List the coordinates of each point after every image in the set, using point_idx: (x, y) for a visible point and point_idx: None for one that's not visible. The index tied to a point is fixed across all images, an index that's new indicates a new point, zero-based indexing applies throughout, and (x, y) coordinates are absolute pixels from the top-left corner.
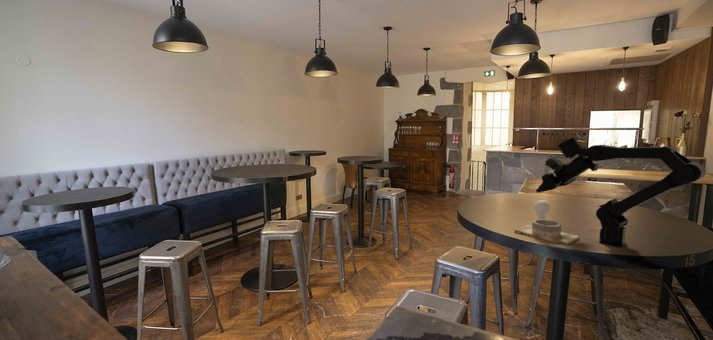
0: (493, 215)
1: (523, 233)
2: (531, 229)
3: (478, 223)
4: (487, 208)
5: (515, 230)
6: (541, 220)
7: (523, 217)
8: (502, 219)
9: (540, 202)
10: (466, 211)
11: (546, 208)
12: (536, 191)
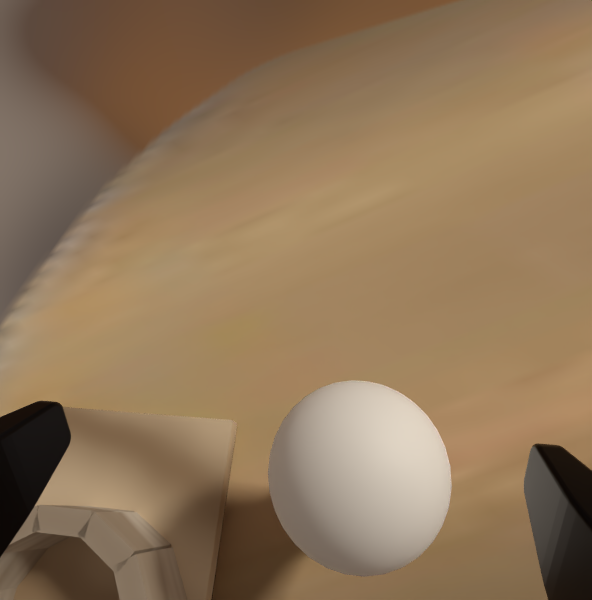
0: (369, 154)
1: None
2: (118, 491)
3: (128, 188)
4: (511, 60)
5: None
6: (109, 563)
7: (490, 292)
8: (315, 228)
9: (295, 457)
10: (335, 41)
11: (298, 546)
12: (51, 415)
